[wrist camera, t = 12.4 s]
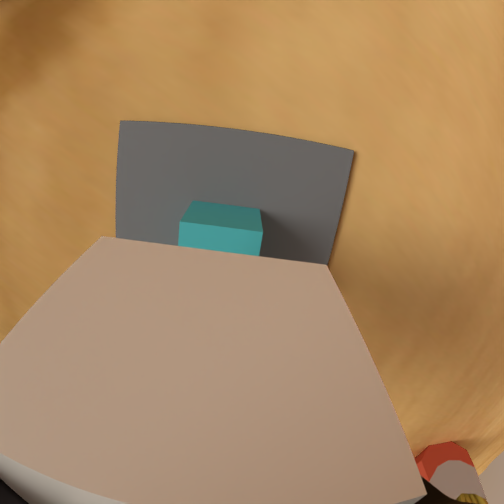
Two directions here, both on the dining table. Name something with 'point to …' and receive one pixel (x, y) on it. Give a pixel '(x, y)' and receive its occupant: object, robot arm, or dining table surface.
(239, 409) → the closed white box
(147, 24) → the dining table surface
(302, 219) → the mat
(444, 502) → the robot arm
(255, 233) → the cube
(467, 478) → the french fries container
